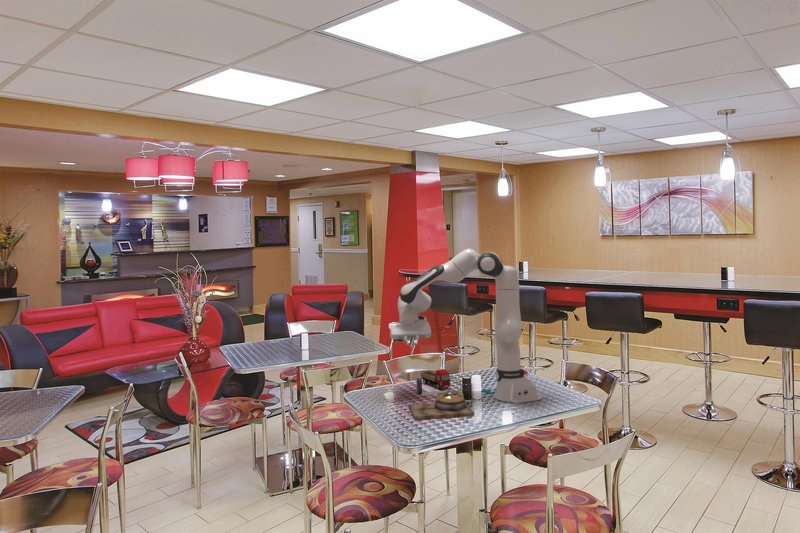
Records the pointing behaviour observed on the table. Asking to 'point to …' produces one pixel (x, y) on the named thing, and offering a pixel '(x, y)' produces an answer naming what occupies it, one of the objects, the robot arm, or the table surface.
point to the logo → (482, 390)
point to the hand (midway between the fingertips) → (412, 344)
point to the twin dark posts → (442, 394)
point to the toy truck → (437, 378)
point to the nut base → (440, 410)
